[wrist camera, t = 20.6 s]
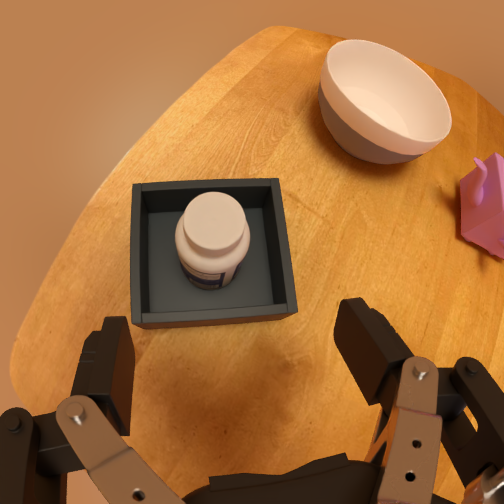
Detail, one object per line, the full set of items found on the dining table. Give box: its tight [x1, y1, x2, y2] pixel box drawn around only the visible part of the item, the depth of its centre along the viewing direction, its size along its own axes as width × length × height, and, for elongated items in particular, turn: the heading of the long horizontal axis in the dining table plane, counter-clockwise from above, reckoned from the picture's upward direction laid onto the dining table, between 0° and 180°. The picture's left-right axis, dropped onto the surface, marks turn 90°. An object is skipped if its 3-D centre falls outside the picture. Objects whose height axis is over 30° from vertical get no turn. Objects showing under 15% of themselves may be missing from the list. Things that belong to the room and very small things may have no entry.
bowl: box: [318, 40, 452, 164], centre depth 34 cm, size 16×16×10 cm
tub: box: [130, 178, 298, 329], centre depth 28 cm, size 13×12×5 cm
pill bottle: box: [175, 192, 250, 290], centre depth 25 cm, size 5×5×10 cm
